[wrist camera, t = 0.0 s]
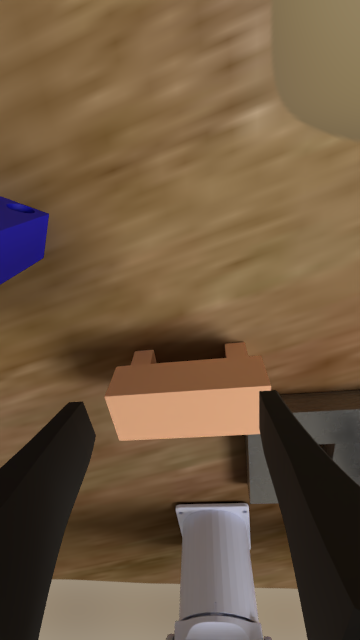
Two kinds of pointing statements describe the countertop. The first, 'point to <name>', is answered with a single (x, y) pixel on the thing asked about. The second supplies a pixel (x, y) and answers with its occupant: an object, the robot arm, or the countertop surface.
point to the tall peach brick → (187, 396)
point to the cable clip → (20, 237)
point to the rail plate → (324, 427)
